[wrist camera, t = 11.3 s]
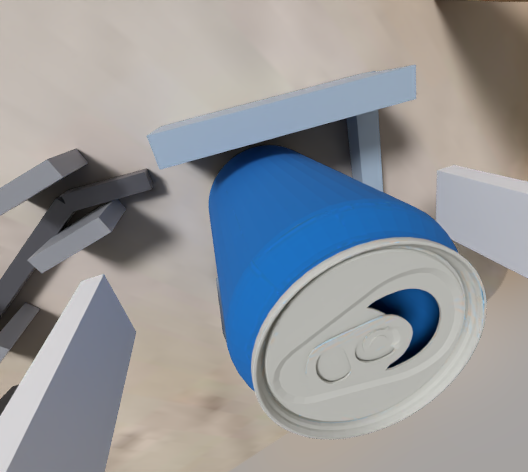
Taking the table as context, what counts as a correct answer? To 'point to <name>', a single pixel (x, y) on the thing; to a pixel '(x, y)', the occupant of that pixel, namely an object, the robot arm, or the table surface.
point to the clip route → (59, 227)
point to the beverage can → (337, 295)
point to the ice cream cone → (502, 0)
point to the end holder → (294, 123)
